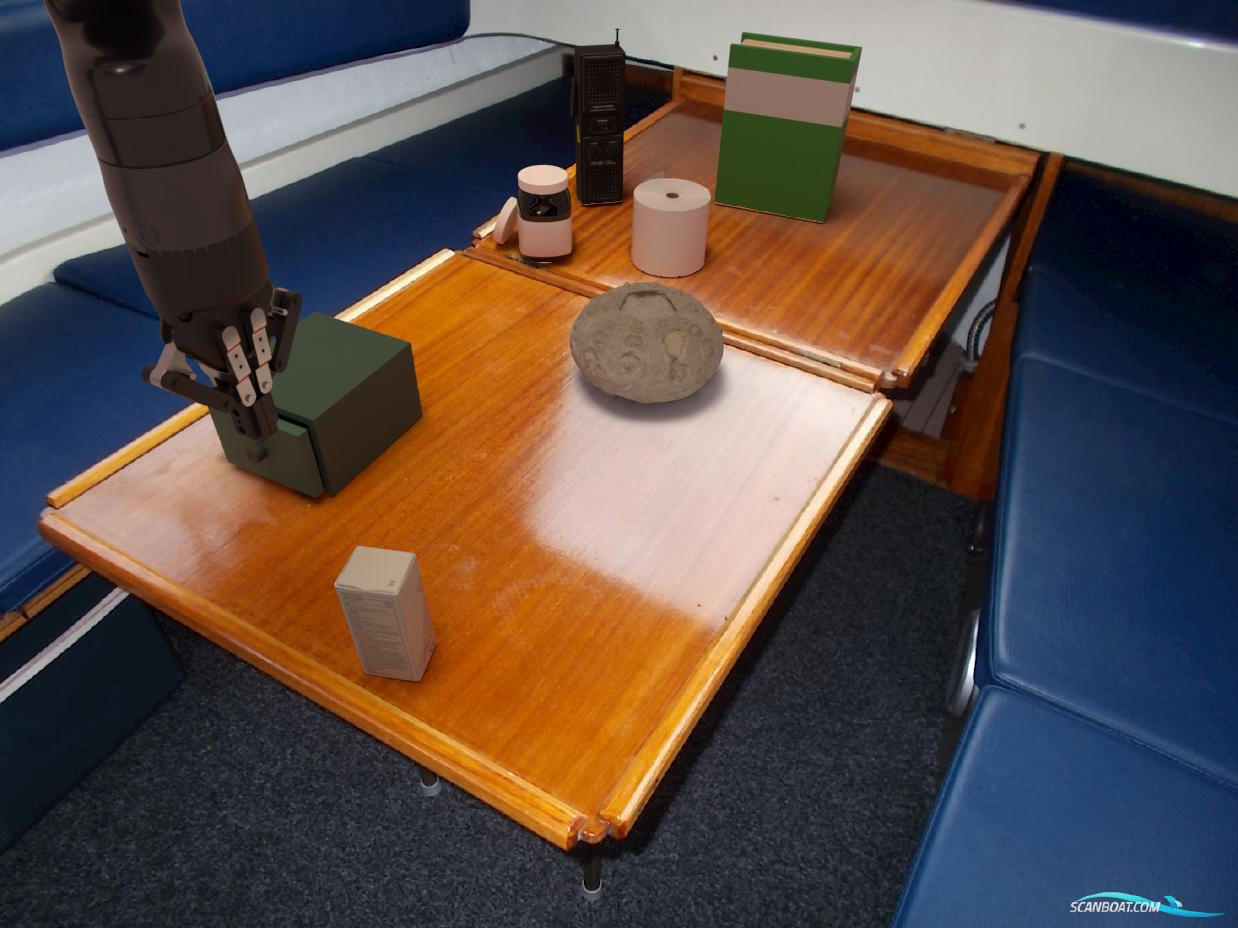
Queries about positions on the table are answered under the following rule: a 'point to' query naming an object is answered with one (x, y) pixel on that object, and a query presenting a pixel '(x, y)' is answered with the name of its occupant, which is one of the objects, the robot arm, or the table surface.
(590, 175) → the portable radio
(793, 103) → the hardback book
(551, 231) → the spread jar
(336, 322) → the cabinet
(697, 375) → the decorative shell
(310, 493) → the drawer
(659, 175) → the toilet tissue
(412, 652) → the box
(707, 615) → the table surface
